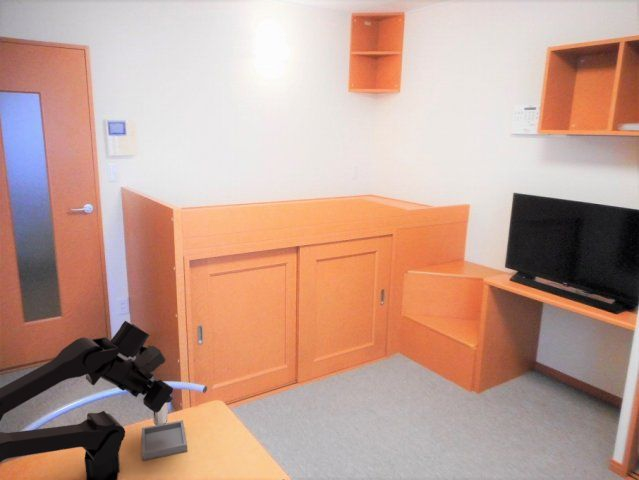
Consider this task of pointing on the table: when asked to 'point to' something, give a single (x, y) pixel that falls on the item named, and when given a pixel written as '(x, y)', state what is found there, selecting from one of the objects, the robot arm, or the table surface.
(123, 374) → the robot arm
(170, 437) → the tray
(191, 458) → the table surface
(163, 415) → the milkshake
